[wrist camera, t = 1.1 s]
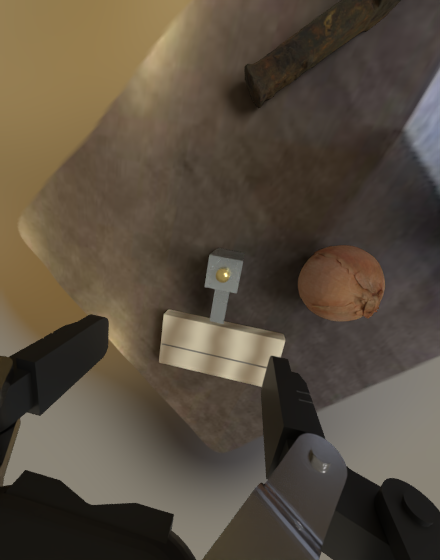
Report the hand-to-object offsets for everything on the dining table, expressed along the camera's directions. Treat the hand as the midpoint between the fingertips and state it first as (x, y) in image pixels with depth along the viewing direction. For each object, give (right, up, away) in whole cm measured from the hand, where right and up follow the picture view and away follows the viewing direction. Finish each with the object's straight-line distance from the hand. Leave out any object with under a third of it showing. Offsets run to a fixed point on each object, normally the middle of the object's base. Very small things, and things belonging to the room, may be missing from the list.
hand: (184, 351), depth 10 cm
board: (+2, -7, +26) cm, 27 cm away
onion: (+17, +4, +21) cm, 27 cm away
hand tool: (+13, +30, +14) cm, 36 cm away
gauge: (+3, +3, +23) cm, 23 cm away
